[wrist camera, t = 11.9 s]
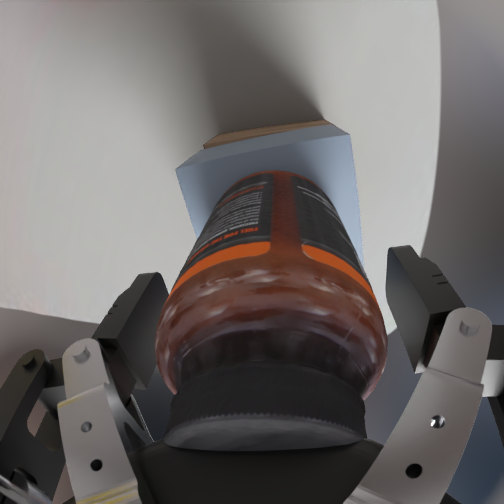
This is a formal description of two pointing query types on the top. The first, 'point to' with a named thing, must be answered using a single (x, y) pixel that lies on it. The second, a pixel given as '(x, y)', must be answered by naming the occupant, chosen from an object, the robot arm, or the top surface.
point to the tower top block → (282, 159)
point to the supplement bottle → (270, 325)
